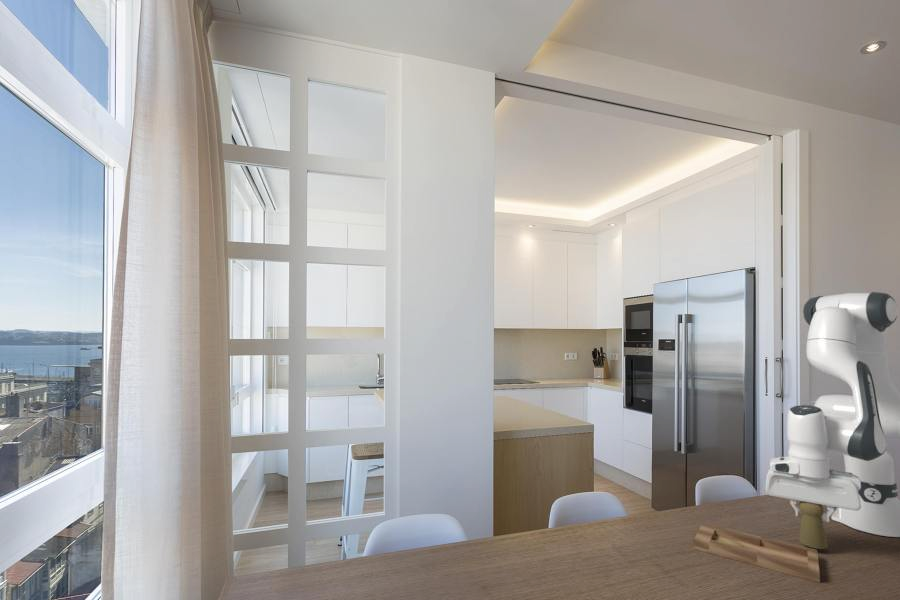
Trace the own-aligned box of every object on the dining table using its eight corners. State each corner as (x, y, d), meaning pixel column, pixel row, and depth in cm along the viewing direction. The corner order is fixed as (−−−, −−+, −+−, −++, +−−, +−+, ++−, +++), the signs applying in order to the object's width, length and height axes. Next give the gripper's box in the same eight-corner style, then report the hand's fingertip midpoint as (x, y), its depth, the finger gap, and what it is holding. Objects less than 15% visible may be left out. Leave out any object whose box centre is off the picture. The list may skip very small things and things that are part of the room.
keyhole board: (702, 531, 131) (702, 522, 131) (817, 559, 115) (817, 549, 115) (694, 548, 120) (693, 539, 120) (820, 582, 104) (819, 571, 104)
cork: (833, 549, 118) (830, 507, 118) (807, 548, 119) (804, 506, 119) (819, 538, 124) (816, 497, 124) (794, 536, 125) (791, 496, 125)
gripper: (858, 470, 119) (862, 524, 118) (764, 458, 131) (767, 506, 130) (861, 477, 114) (865, 533, 113) (763, 463, 126) (766, 513, 125)
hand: (812, 518), depth 122 cm, fingers closed on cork, 4 cm apart
